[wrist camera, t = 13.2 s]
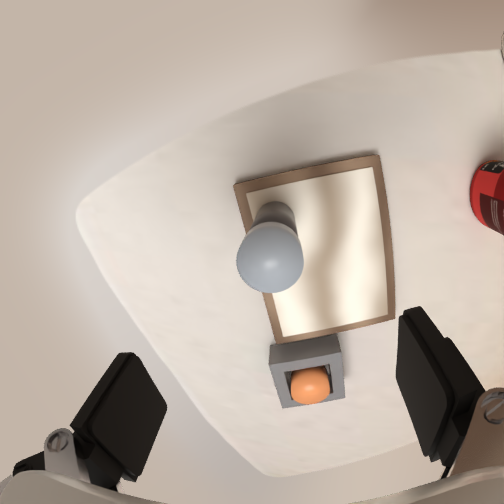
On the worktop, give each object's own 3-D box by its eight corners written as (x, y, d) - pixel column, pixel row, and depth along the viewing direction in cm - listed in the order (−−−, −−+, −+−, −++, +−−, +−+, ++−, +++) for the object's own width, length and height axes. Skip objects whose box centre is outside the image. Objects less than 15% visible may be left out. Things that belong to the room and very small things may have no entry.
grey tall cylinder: (291, 196, 26) (296, 223, 15) (299, 235, 27) (308, 286, 16) (250, 205, 26) (228, 237, 16) (260, 243, 28) (245, 297, 17)
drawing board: (375, 154, 25) (380, 154, 24) (392, 313, 30) (395, 319, 29) (234, 184, 27) (232, 185, 26) (276, 337, 33) (276, 345, 31)
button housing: (336, 333, 32) (341, 351, 29) (341, 379, 34) (345, 397, 31) (270, 345, 33) (268, 364, 30) (282, 389, 36) (282, 408, 32)
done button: (325, 358, 31) (328, 376, 28) (328, 383, 32) (331, 400, 29) (287, 365, 32) (287, 382, 29) (294, 389, 33) (294, 406, 30)
